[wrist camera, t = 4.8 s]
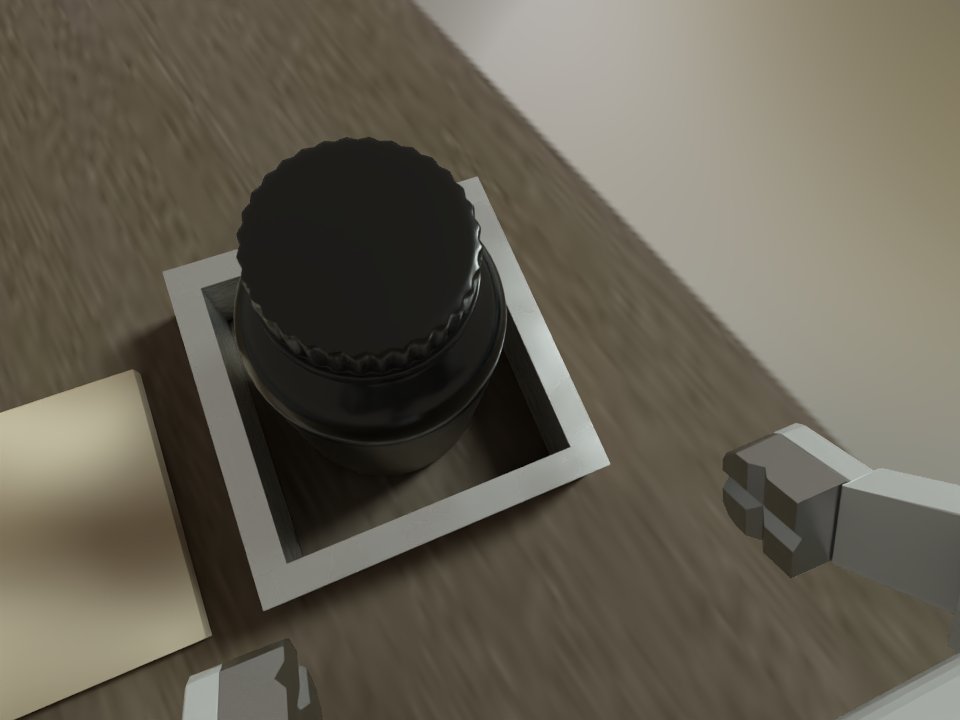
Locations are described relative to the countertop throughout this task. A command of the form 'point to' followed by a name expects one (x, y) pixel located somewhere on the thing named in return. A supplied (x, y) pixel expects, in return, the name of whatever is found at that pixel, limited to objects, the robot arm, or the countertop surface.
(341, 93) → the countertop surface
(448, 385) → the supplement bottle
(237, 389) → the steel holder
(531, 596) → the countertop surface
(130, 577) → the birch pad
